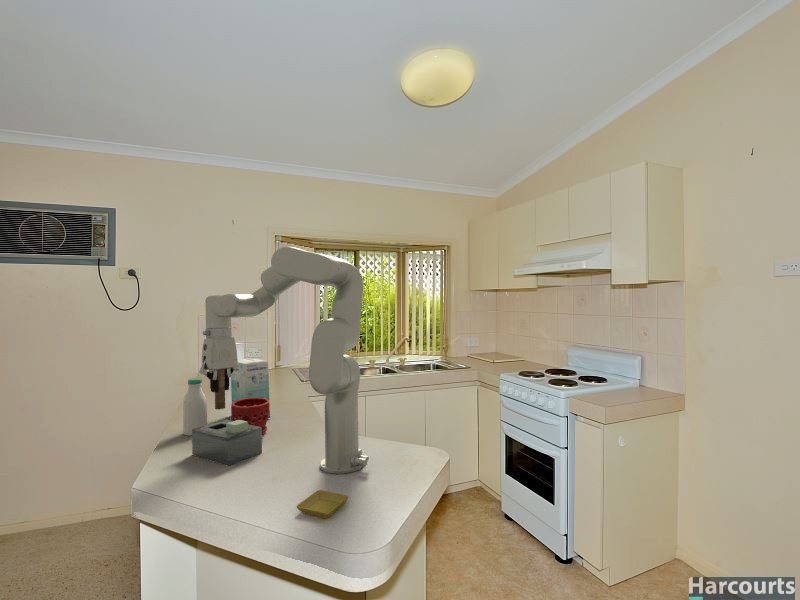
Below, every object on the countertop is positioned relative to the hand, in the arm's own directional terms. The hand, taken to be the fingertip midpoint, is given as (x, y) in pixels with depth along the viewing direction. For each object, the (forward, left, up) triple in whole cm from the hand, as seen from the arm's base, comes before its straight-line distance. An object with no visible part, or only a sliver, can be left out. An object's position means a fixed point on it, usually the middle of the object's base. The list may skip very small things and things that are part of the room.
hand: (220, 390), depth 126 cm
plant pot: (+6, -16, -20) cm, 27 cm away
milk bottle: (+26, -7, -20) cm, 34 cm away
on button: (-9, 0, -14) cm, 16 cm away
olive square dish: (-54, +11, -20) cm, 58 cm away
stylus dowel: (0, 0, -6) cm, 6 cm away
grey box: (-4, 0, -20) cm, 20 cm away
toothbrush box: (+26, -31, -20) cm, 46 cm away
